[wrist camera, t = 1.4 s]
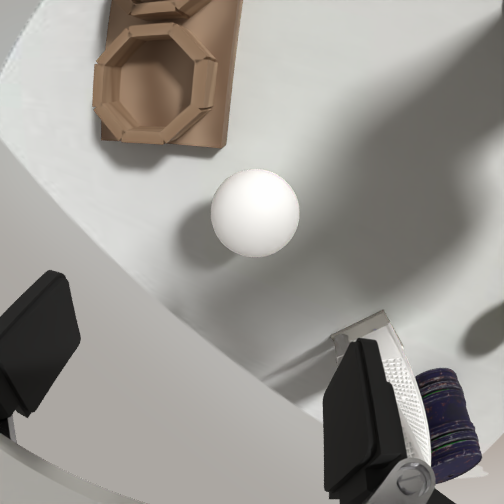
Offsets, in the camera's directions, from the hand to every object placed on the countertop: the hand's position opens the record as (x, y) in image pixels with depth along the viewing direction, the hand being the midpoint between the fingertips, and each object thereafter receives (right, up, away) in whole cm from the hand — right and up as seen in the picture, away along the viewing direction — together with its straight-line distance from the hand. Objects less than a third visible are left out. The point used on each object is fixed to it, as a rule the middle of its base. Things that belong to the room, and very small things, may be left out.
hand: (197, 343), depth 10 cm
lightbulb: (+3, +9, +20) cm, 22 cm away
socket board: (-5, +23, +13) cm, 27 cm away
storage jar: (+29, -18, +30) cm, 45 cm away
